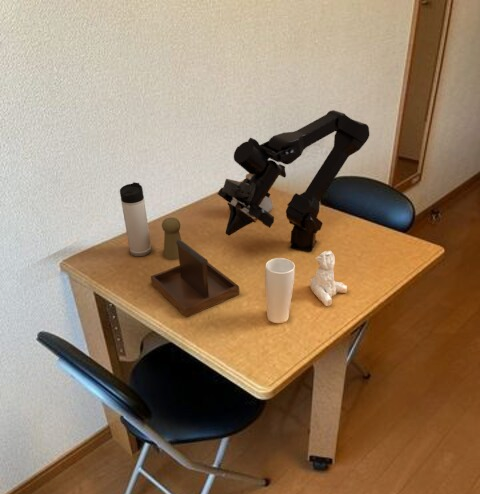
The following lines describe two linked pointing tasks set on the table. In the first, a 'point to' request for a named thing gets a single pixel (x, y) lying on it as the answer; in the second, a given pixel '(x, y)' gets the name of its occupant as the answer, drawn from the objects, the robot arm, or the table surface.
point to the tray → (193, 283)
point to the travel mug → (135, 219)
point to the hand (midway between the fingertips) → (227, 234)
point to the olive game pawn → (171, 237)
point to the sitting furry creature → (326, 279)
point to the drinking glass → (279, 288)
